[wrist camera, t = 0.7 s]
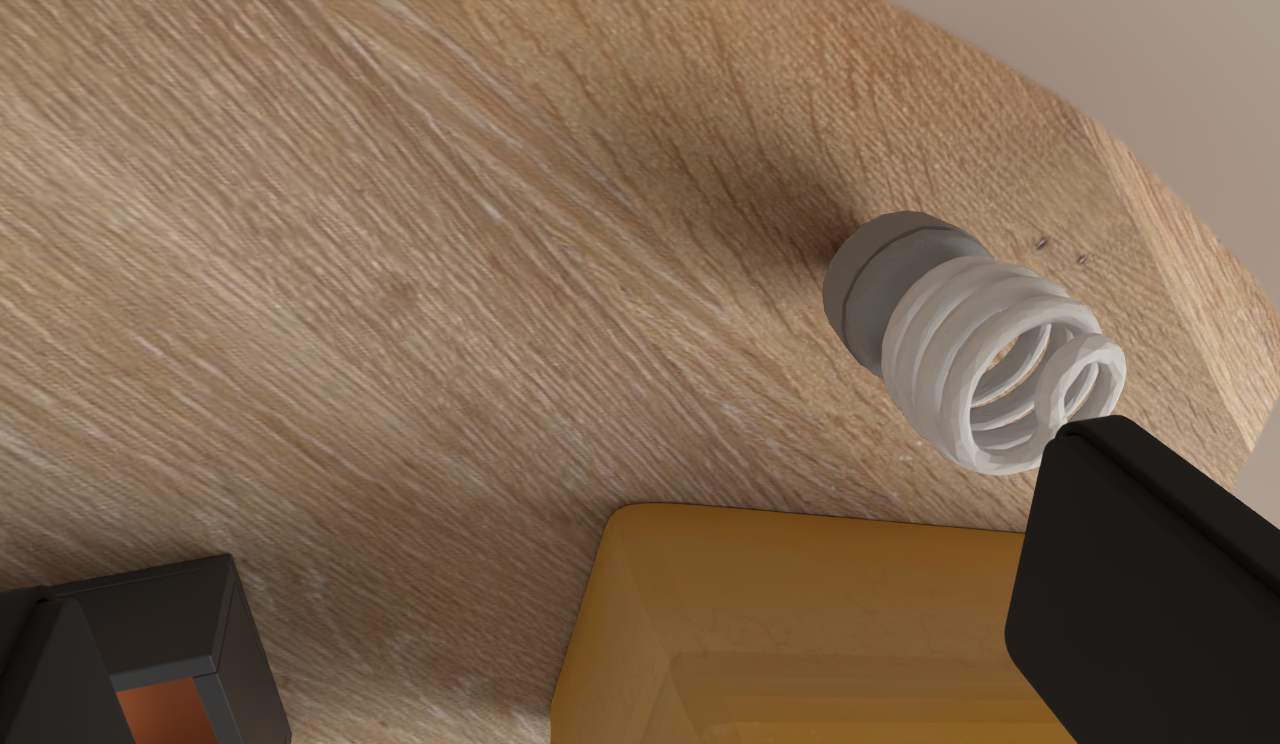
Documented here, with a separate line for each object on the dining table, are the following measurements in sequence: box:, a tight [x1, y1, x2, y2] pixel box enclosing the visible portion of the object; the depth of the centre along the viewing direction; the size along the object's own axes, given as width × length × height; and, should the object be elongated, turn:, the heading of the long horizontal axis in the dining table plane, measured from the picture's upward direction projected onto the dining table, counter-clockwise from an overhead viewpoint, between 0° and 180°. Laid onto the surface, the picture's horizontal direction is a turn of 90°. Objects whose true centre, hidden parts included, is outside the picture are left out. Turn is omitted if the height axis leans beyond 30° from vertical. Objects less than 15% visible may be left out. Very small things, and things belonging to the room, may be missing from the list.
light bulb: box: [823, 211, 1127, 476], centre depth 29 cm, size 6×6×12 cm
